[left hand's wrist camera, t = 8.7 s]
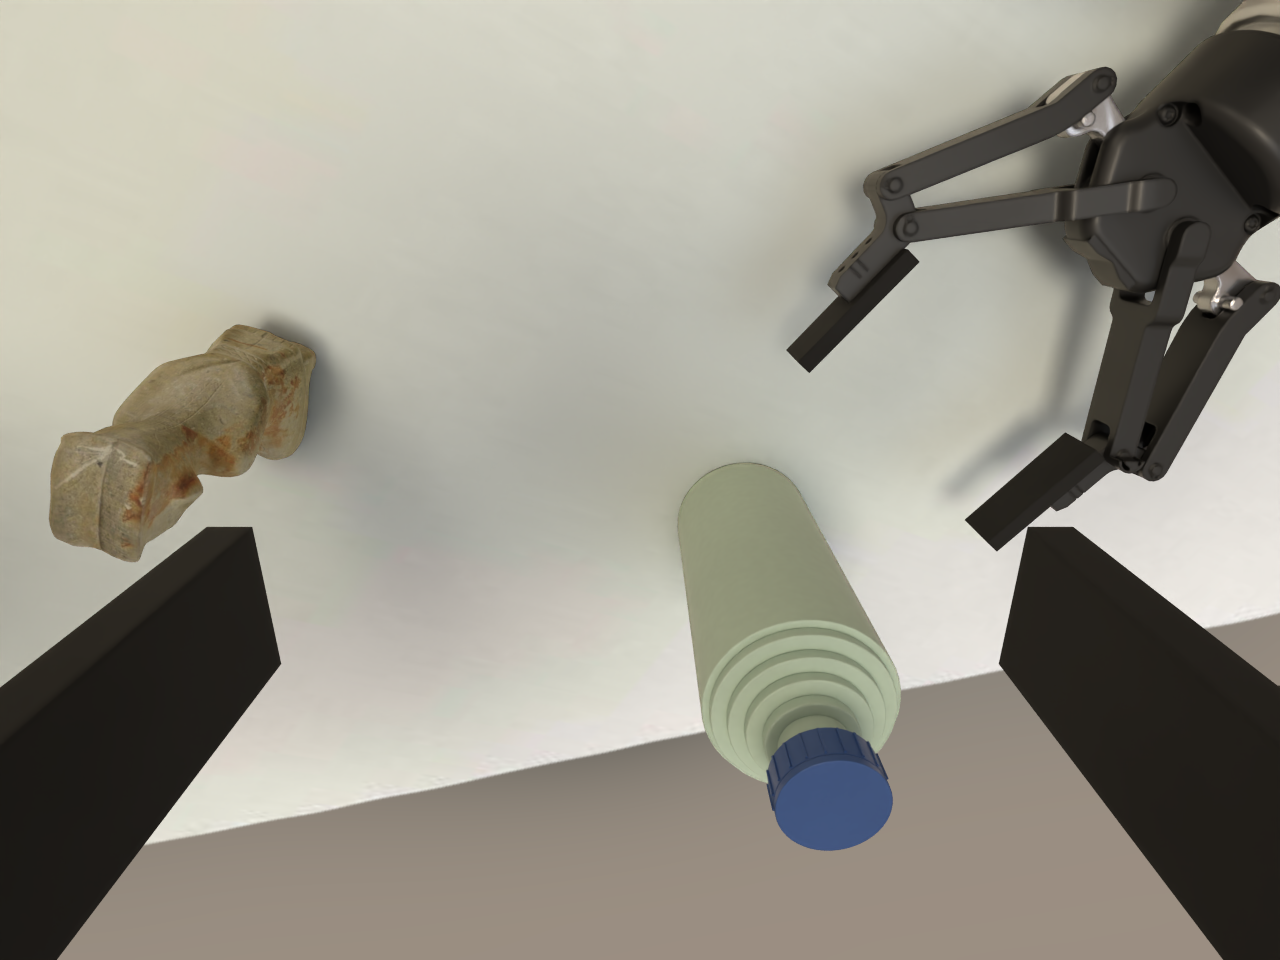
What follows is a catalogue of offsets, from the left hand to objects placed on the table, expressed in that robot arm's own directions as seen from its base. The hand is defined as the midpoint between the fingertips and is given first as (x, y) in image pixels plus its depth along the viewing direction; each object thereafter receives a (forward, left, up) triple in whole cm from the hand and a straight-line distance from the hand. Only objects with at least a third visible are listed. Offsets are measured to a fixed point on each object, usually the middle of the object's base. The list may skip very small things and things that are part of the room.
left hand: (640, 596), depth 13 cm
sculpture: (-20, +2, -29) cm, 35 cm away
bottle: (+3, -13, -29) cm, 32 cm away
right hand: (+11, -9, -23) cm, 27 cm away
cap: (+3, -13, -8) cm, 16 cm away
